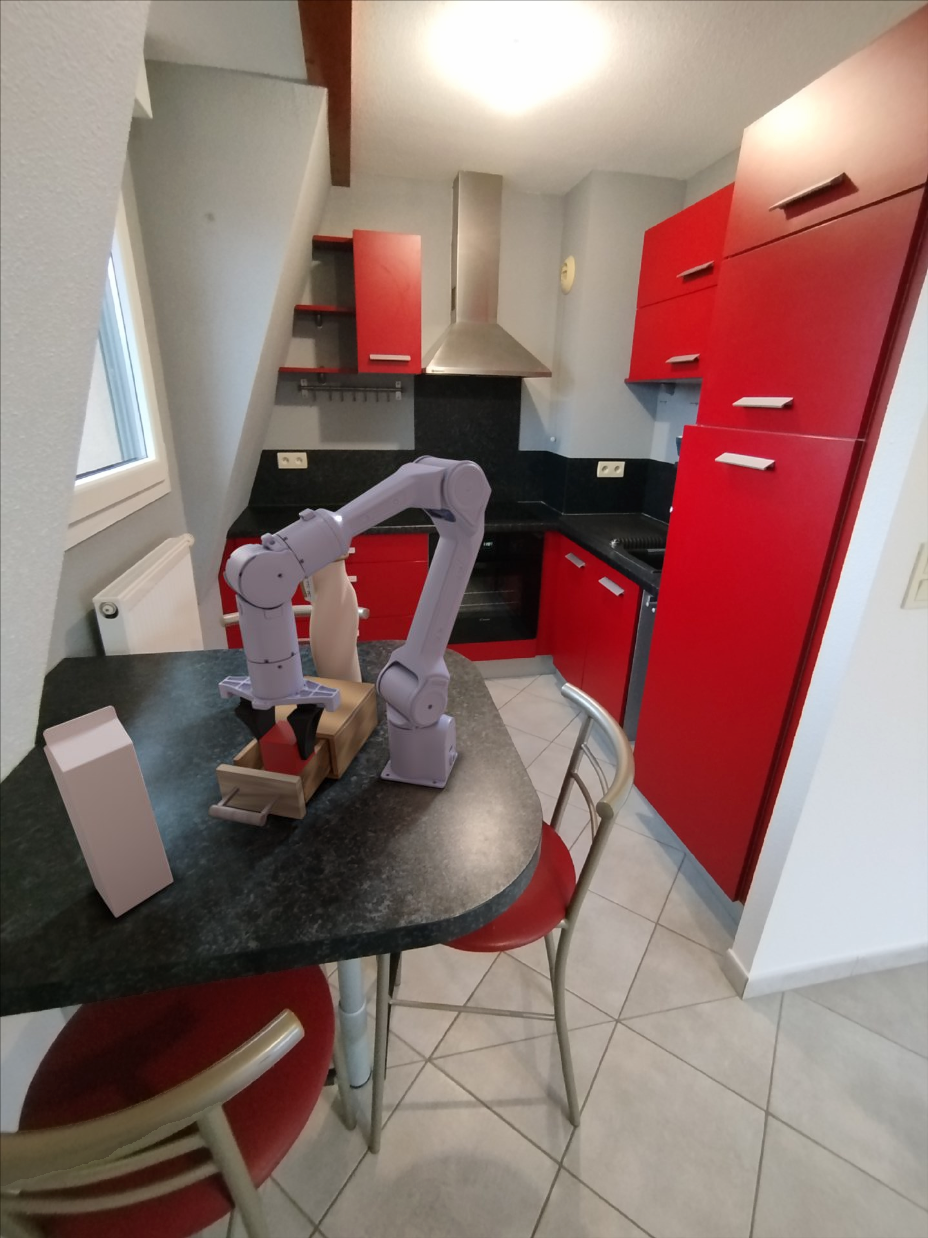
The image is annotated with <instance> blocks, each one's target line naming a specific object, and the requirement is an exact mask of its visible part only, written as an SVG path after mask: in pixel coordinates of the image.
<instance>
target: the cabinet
mask: <svg viewBox="0 0 928 1238" xmlns="http://www.w3.org/2000/svg"><path fill="white" fill-rule="evenodd" d="M303 678H306V679H308V680H311V681H313V682H316V683H319V684H321V685H324V686H327V687H330V688H335V689H340V696H341V704H340V705H339V707H338V708H337V709H336V710H335V711H334V712H328V711H326V708H324V711H323V713H322V716H321V718H320V721H319V724H318V728H317V732H316V737H320V738H327V739H329V742H330V750H331V758H332V766H333V768H332V769H331V770H330V772H329V773H328V774H327V776H326V777H325V778H328V779H333V780H334V779H335V780H340V779H341V778H342V776H343V774H344V773H345V772H346V770H347V769H348V767H349V766H350V764H351V763H352V762H353V760H354V759H355V757H356V756H357V755H358V753H359V752H360V750H361V749H362V747H363V746H364V745H365V743H366V742H367V740H368V739H369V737H370V736H371V735H372V733H373V732H374V730H375V728H377V725H378V724H379V720H378V710H377V709H378V708H377V696H376V683H370V682H353V681H345V680H336V679H327V678H319V676H318V677H317V676H309V675H303ZM296 708H297V704H294V705H279V706H275V720H276V723H277V722H278V721H279V720H282V721H287V716H288V715H289V714H290V713H291V712H292V711H293V710H294V709H296Z"/></svg>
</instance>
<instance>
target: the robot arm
mask: <svg viewBox="0 0 928 1238" xmlns="http://www.w3.org/2000/svg"><path fill="white" fill-rule="evenodd" d="M491 493H492V488H491V486H490V484H489V481H488V479H487V477H486V475H485V472H484V471H483V469H482V467H481V466H480V465H479V464H478V463H476V462H474V461H473V460H472V461H471V460H454V459H447V458H439V457H436V456H432V455H422V456H419V457H417V458H416V459H415V460H414V461H413V462H408V463H405V464H403V465H401V466H400V467H399V468H398V469H397V470H396V471H395V472H394V473H392V474H391V475H390V476H388V477H387V478H385V479H383V480H382V481H380V482H379V483H377V484H376V485H374V486H373V487H371V488H369V489H368V490H367V491H365V492H364V493H362V494H360V495H359V496H358V497H356V498H354V499H353V500H351V501H350V502H348V503H347V504H345V505H344V506H342V507H341V508H339V509H338V510H336V511H331V510H328V509H325V508H318V509H316V510H313V509H310V508H306V509H304V510H302V511H300V512H299V513H298V516H299V518H300V519H298V520H296V521H295V522H293V523H291V524H289V525H288V526H286V527H284V528H282V529H281V530H278V531H277V532H276V533H273V534H271V533H269V532H267V533H265V534H263V535H261V537H260V540H261V544H259V543H254V544H253V543H249V544H248V543H247V544H244V545H242V546H239V547H238V548H236V549H235V550H234V551H233V552H232V553H231V554H230V555H229V556H230V558H228V559H227V561H226V563H225V571H223V573H222V575H223V579H224V581H225V583H226V584H227V585H228V586H229V587H230V588H231V589H232V590H233V591H234V592H236V594H235V601H236V608H237V612H238V623H239V630H240V635H241V640H242V647H243V651H244V656H245V661H246V666H247V672H248V676H230V675H229V676H227V677H226V678H224V679H223V680H222V681H220V682H219V683H218V684H217V685H218V689H219V694H220V698H221V699H226V700H228V699H231V698H232V697H236V698H239V704H238V705H237V706H236V707H235V708H234V709H233V711H234V712H233V713H234V716H235V717H236V718H238V719H239V720H240V721H241V722H242V723H243V724H244V725H245V726H246V727H247V728H248V730H249V731H250V733H251V734H252V735H253V736H254V739H255V738H256V740H257V741H258V743H259V745H260V742H259V740H260V739H261V738H262V737H263V736H264V735H265V734H266V733H267V732H268V731H269V730H270V729H271V728H272V727H273V726H274V725H275V724H276V720H275V706H279V705H294V704H297V708H296V709H294V710H293V711H292V712H291V713H290V714H289V715H288V716H287V721H288V722H289V724H290V726H291V727H292V729H293V732H294V734H295V737H296V741H297V746H298V751H299V755H300V757H301V760H307V759H308V758H309V757H310V756H311V754H312V753H313V752H314V746H315V738H316V732H317V728H318V724H319V721H320V718H321V716H322V713H323V711H324V708H326V711H328V712H334V711H335V710H336V709H337V708H338V707H339V705H340V704H341V696H340V689H335V688H330V687H327V686H324V685H321V684H319V683H316V682H313V681H311V680H308V679H306V678H303V677H304V674H303V667H302V660H301V653H300V646H299V639H298V633H297V632H298V631H297V625H296V619H295V618H296V617H295V612H294V611H295V610H294V608H293V602H292V598H293V597H294V595H295V594H296V591H297V589H298V586H299V585H300V582H301V581H303V580H305V579H306V578H308V577H309V576H311V575H313V574H314V573H316V572H317V571H319V570H321V569H322V568H324V567H326V566H327V565H329V564H330V563H332V562H334V561H335V560H337V559H338V558H340V557H342V556H343V555H344V556H345V554H347V553H349V550H350V548H351V544H352V541H353V538H354V537H356V536H358V535H360V534H361V533H363V532H366V531H367V530H369V529H371V528H373V527H375V526H377V525H378V524H380V523H382V522H384V521H385V520H388V519H390V518H392V517H394V516H395V515H397V514H399V513H400V512H403V511H405V510H406V509H409V508H415V509H422V510H423V511H424V512H425V513H426V514H427V515H428V516H429V518H430V519H431V521H432V523H433V524H434V527H435V528H436V530H437V533H438V534H439V539H438V542H437V545H436V548H435V550H434V554H433V557H432V560H431V564H430V567H429V569H428V572H427V576H426V579H425V581H424V585H423V589H422V591H421V594H420V597H419V601H418V604H417V607H416V610H415V613H414V616H413V619H412V622H411V625H410V628H409V631H408V635H407V638H406V640H405V643H404V645H402V646H400V647H398V648H396V649H394V650H393V651H392V652H391V653H390V657H389V659H388V661H387V664H386V665H385V666H384V667H383V668H382V669H381V670H380V673H379V674H378V677H377V678H376V683H375V688H376V692H377V695H379V697H380V698H381V699H382V700H384V701H385V706H386V707H385V709H386V719H387V720H386V722H387V733H388V735H387V736H388V745H389V746H388V748H389V749H388V750H389V760H388V762H387V763H386V765H385V767H384V768H383V770H382V771H381V773H380V778H381V779H382V780H388V781H394V782H399V783H400V782H401V783H407V784H412V785H420V786H425V787H433V788H437V789H443V788H445V787H446V785H447V782H448V780H449V777H450V775H451V773H452V770H453V768H454V765H455V762H456V761H457V758H458V752H457V725H456V719H455V717H454V716H450V715H447V714H445V711H446V709H447V706H448V701H449V696H448V688H449V685H450V681H451V675H450V672H449V670H448V667H447V664H446V662H445V659H444V655H445V652H446V650H447V646H448V643H449V640H450V638H451V635H452V631H453V628H454V625H455V624H456V623H455V622H456V619H457V616H458V614H459V611H460V608H461V604H462V602H463V598H464V595H465V593H466V590H467V586H468V584H469V581H470V577H471V575H472V572H473V568H474V566H475V562H476V559H477V558H478V553H479V550H480V548H481V545H482V542H483V539H484V534H485V511H486V508H487V506H488V503H489V499H490V497H491Z"/></svg>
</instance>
